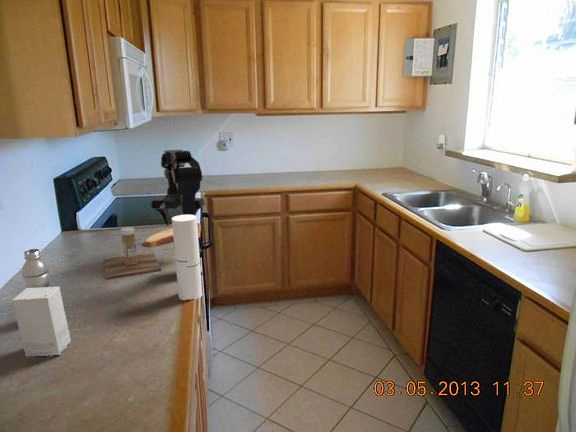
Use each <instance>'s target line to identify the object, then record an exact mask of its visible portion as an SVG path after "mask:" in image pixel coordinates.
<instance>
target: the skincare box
mask: <svg viewBox="0 0 576 432" xmlns="http://www.w3.org/2000/svg"><path fill="white" fill-rule="evenodd" d="M63 302H64V301H63V298H62V293H61V288H60V286H50V287H40V288H27V287H26V288H25V289H23V291H21V292H20V293H19V294H18V295H16V296H15V297H13V299H11V303H12V307H13V310H14V315H15V318H16V319H15V320H16V322H17V326H18V329H19V330H18V331H19V334H20V338H21V342H22V346H23V347H22V348H23V351H24V354H25V357H26V356H47V357H49V356H48V355H59V354H61V355H62V353H63V352H64V351H65V350H66V348H67V347H68V346H69V345H70V344H71V341H72V340H71V335H70V330H69V326H68V321H67V317H66V311H65V308H64V307H65V306H64V303H63ZM68 344H69V345H68ZM67 345H68V346H67ZM64 349H65V350H64ZM63 350H64V351H63ZM62 351H63V352H62ZM61 352H62V353H61Z"/></svg>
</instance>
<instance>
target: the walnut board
mask: <svg viewBox="0 0 576 432" xmlns="http://www.w3.org/2000/svg"><path fill="white" fill-rule="evenodd" d="M137 261H138V263H137V264H135V265H131V266H128V265H125V257H124V255H123V256H117V257H110V258H104V259H103V267H104V273H105V280H106V281H109V280H114V279H119V278H120V279H121V278H126V277H131V276H132V277H133V276H137V275H143V274H149V273H155V272H161V271H162V267H161V265H160V262H159V261H158V260H157V257H156V255H155V253H154V251H149V252H143V253H137Z"/></svg>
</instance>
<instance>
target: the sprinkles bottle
mask: <svg viewBox="0 0 576 432" xmlns="http://www.w3.org/2000/svg"><path fill="white" fill-rule="evenodd" d="M135 232H136V231H135V227H133V226H125V227H122V228H121V229H120V236H121V240H122V249H123V256H124V257H125V265H128V266H131V265H135V264H137V263H138V261H137V254H138V253H137V245H136V238H135Z"/></svg>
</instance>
